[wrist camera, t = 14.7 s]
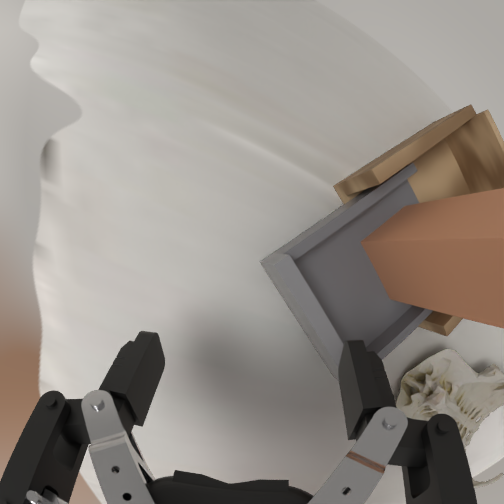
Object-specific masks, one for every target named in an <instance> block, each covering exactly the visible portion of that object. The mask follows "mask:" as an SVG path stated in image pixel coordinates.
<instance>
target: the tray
mask: <svg viewBox="0 0 504 504" xmlns="http://www.w3.org/2000/svg"><path fill="white" fill-rule="evenodd" d="M415 172H417V169H416V167H415V165H414V163H410V164H408V165H406V166H405V167H404V168H402V169H401V170H399V171H398V172H397V173H395V174H394V175H392V176H391V177H390V178H388V179H387V180H385V181H384V182H382V183H381V184H379V185H376V186H373V187H370V188H367V189H366V190H364V191H363V192H361V193H360V194H358V195H357V196H356V197H354V198H353V199H351V200H350V201H348V202H347V203H345V204H344V205H343V206H341V207H340V208H338V209H337V210H335V211H334V212H332V213H331V214H329V215H328V216H327V217H325V218H324V219H322V220H321V221H319V222H318V223H316V224H315V225H313V226H312V227H310V228H309V229H307V230H306V231H305V232H303V233H302V234H300V235H299V236H297V237H296V238H294V239H293V240H291V241H290V242H288V243H287V244H285V245H284V246H282V247H281V248H280V249H278V250H277V251H275V252H274V253H272V254H271V255H269V256H268V257H266V258H265V259H263V260H262V261H260V263H261V265H262V266H263V268H264V269H265V271H266V272H267V274H268V275H269V277H270V279H271V280H272V282H273V283H274V285H275V286H276V288H277V289H278V291H279V293H280V294H281V296H282V297H283V299H284V300H285V302H286V303H287V305H288V307H289V308H290V310H291V311H292V313H293V314H294V316H295V317H296V319H297V321H298V322H299V324H300V325H301V327H302V328H303V330H304V331H305V333H306V335H307V336H308V338H309V339H310V341H311V342H312V344H313V345H314V347H315V349H316V350H317V352H318V353H319V355H320V356H321V358H322V359H323V361H324V363H325V364H326V366H327V367H328V369H329V370H330V372H331V374H332V375H333V376H334V377H335V378H336V379H337V380H338V381H339V378H338V367H339V362H340V358H341V354H342V350H343V346H344V343H345V341H347V340H363V341H364V344H365V347H366V350H367V352H370V351H374V352H375V353H376V354H377V355H378V356H379V357H380V358H381V360H382V359H383V358H384V357H386V356H387V355H388V354H389V353H390V352H391V351H392V350H393V349H395V348H396V347H397V346H398V345H399V344H400V343H401V342H402V341H403V340H404V339H405V338H406V337H407V336H408V335H410V334H411V333H412V332H413V331H414V330H415V329H416V328H417V327H418V326H419V325H420V324H421V323H422V322H423V321H424V320H425V319H426V318H427V317H428V316H429V315H430V314H431V313H432V311H433V310H429V309H425V308H421V307H418V306H414V305H410V304H406V303H402V302H398V301H395V300H391V299H390V298H389V296H388V294H387V292H386V290H385V288H384V286H383V284H382V282H381V280H380V278H379V276H378V274H377V272H376V270H375V268H374V266H373V265H372V263H371V261H370V259H369V257H368V255H367V253H366V251H365V250H364V248H363V246H362V244H361V241H362V240H363V239H365V238H366V237H367V236H368V235H370V234H371V233H372V232H373V231H375V230H376V229H377V228H378V227H380V226H381V225H382V224H383V223H385V222H386V221H387V220H388V219H390V218H391V217H392V216H393V215H394V214H396V213H397V212H398V211H399V210H401V209H402V208H403V207H404V206H407V205H413V204H418V203H419V201H418V199H417V197H416V195H415V193H414V191H413V189H412V187H411V185H410V184H409V182H408V180H407V179H408V178H409V177H410V176H412V175H413V174H414V173H415Z"/></svg>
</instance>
